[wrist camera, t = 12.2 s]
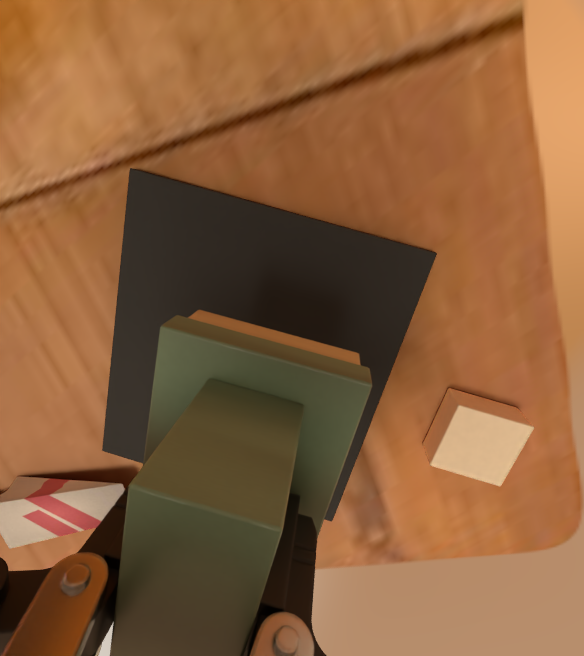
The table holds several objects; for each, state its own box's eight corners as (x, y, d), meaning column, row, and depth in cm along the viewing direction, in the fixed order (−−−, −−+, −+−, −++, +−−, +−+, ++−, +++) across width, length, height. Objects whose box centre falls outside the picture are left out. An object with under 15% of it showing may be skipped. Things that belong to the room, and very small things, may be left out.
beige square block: (448, 386, 21) (458, 405, 19) (517, 407, 21) (535, 427, 19) (422, 443, 22) (429, 466, 20) (487, 463, 22) (500, 487, 20)
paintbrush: (128, 542, 24) (-95, 553, 28) (150, 509, 26) (-58, 524, 31) (104, 494, 22) (-124, 514, 27) (130, 464, 25) (-82, 486, 30)
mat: (135, 169, 19) (129, 168, 19) (434, 252, 19) (437, 253, 18) (107, 445, 25) (101, 450, 25) (332, 514, 25) (332, 521, 24)
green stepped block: (193, 301, 13) (40, 405, 6) (367, 348, 13) (395, 507, 6) (160, 515, 17) (39, 726, 10) (296, 555, 17) (265, 800, 10)
